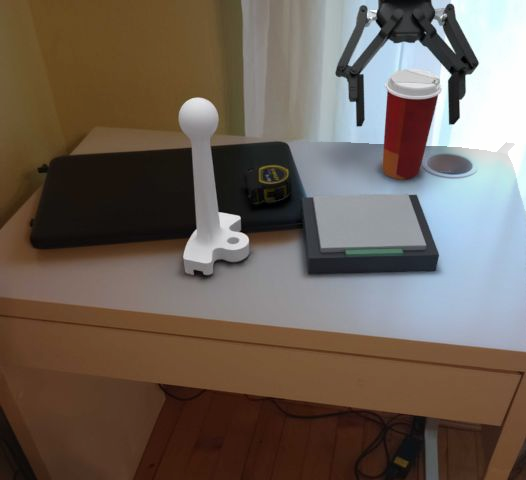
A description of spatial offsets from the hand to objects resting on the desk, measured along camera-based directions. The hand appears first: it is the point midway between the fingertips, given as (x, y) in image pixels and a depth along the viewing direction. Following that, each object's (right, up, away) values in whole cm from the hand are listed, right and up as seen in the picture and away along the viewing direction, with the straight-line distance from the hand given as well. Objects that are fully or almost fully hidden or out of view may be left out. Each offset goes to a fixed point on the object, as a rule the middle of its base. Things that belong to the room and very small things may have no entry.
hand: (407, 122), depth 91 cm
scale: (-7, -18, -7) cm, 21 cm away
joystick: (-26, -20, -9) cm, 34 cm away
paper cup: (0, -6, +6) cm, 8 cm away
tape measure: (-21, -11, +1) cm, 23 cm away
